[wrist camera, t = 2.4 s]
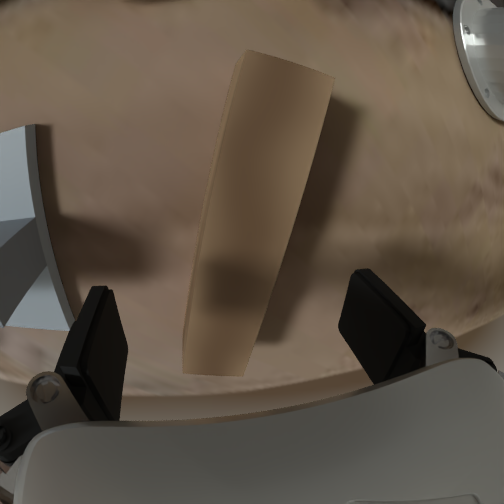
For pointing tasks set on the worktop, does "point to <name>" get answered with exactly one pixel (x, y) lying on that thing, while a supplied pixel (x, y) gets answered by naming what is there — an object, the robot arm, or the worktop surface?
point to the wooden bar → (250, 207)
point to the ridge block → (27, 242)
